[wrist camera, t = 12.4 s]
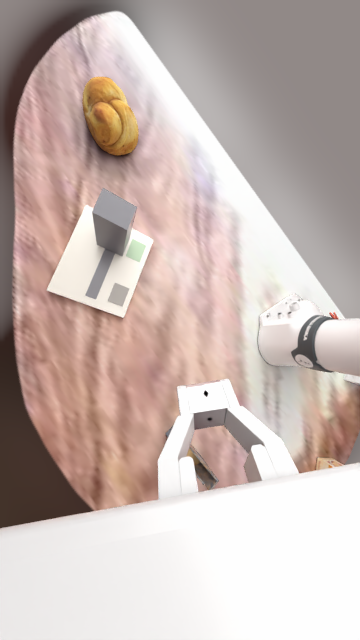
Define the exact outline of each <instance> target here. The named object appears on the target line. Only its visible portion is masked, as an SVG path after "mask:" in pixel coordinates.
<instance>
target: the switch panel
mask: <svg viewBox="0 0 360 640" xmlns="http://www.w3.org/2000/svg"><path fill="white" fill-rule="evenodd" d="M93 209H94V208H92V207H90V206H88V205H86V206H85V208H84V210H83V212H82V215H81V217H80V219H79V221H78V223H77V225H76V228H75V230H74V232H73V234H72V236H71V238H70V241H69V243H68V245H67V247H66V249H65V251H64V254H63V256H62V258H61V260H60V262H59V264H58V267H57V269H56V271H55V273H54V275H53V277H52V280H51V282H50V284H49V286H48V288H47V291H49V292H51V293H54V294H57V295H60V296H63V297H65V298H68V299H71V300H74V301H77V302H79V303H82V304H85V305H88V306H91V307H93V308H96V309H99V310H102V311H105V312H107V313H110V314H113V315H116V316H119V317H121V318H124V316H125V313H126V311H127V308H128V305H129V303H130V300H131V298H132V295H133V292H134V290H135V287H136V284H137V282H138V279H139V277H140V274H141V271H142V269H143V266H144V264H145V261H146V258H147V256H148V253H149V251H150V248H151V245H152V243H153V239H151V238H149V237H147V236H145V235H144V234H142V233H140V232H138V231H136V230H134V229H132V230H131V235H130V239H129V241H128V244H127V246H126V249H125V251H124V254H123V256H120V255H118V254H116V253H114V252H111V251H109V250H107V249H105V248H103V247H101V246H98V245H97V242H96V236H95V229H94V222H93V215H92V211H93Z"/></svg>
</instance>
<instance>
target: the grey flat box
mask: <svg viewBox="0 0 360 640" xmlns="http://www.w3.org/2000/svg"><path fill="white" fill-rule="evenodd" d="M172 428H173V426H172V427H171V428H170V429H169V431H168V432H167V433H166V435H167V437H169V435H170V432H171V430H172ZM189 456H190V457H191V458H192V459H193V461H194V468H195V474H196V476H197V478H198V479H199V480H200V481H201V482H202V484H203V485H204V484H205V485H206V487H207V489H208V490H212V489H213V488H214V487H215V485H216V484H217V483H218V479H217V478H216V476H215V475H214V474H213V472H212V471H211V469H210V468H209V467H208V465H207V464H206V462H205V461H204V460H203V458H202V457H201V456H200V455H199V453H198V452H197V451H196V450H195V449H194V447H193V446H192V445H191V444H190V447H189V450H188V453H187V456H186V457H189Z"/></svg>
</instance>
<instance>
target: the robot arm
mask: <svg viewBox="0 0 360 640" xmlns="http://www.w3.org/2000/svg"><path fill="white" fill-rule="evenodd" d="M329 314H330V316H331V317H332V318H330V317H326V316H324V315H323V313H322V312H321V310H320V309H319V307H318V306H317V305H316V304H315V303H313V302H311V301H303V299H302V298H301V297H299V296H298V295H296V294H291V295H289V296H288V297H286V298H285V299H283V300H282V301H280V302H279V303H277V304H276V305H274V306H273V307H271V308H270V309H268V310H267V311H265V312H264V313H262V314H261V315H260V317H259V322H260V330H259V335H258V346H259V350H260V353H261V355H262V357H263V358H264V360H265V361H266V362H267V363H269V364H271V365H273V366H301V367H306V368H310V369H313V370H318V371H323V372H339V373H344V374H349V375H354V376H359V377H360V318H356V319H338V317H337V315H336V314H335V312H334V315H335V316H334V315H333V314H332V313H331V312H330V313H329ZM177 393H178V401H179V409H180V416H177V419H176V421H175V423H174V425H173V428H172V430H171V432H170V435H169V437H168V439H167V441H166V444H165V446H164V448H163V450H162V453H161V455H160V457H159V459H158V489H159V499H158V500H153V501H147V502H142V503H136V504H131V505H125V506H120V507H114V508H109V509H103V510H98V511H93V512H87V513H82V514H76V515H71V516H65V517H60V518H54V519H50V520H43V521H38V522H33V523H27V524H22V525H16V526H11V527H5V528H0V640H360V463H355V464H349V465H343V466H338V467H332V468H327V469H322V470H316V471H311V472H305V473H300V474H299V472H298V470H297V468H296V466H295V464H294V462H293V460H292V458H291V456H290V454H289V452H288V450H287V448H286V446H285V444H284V443H283V441H282V439H281V438H279V437H278V436H277V435H276V434H275V433H274V432H272V431H271V430H270V429H269V428H268V427H267V426H265V425H264V424H263V423H262V422H261V421H260V420H258V419H257V418H256V417H255V416H254V415H253V414H251V413H250V412H249V411H248V410H247V409H246V408H244V407H243V406H240V405H239V403H238V400H237V398H236V395H235V393H234V390H233V388H232V385H231V383H230V380H229V379H223V380H216V381H210V382H204V383H198V384H191V385H183V386H177ZM221 425H224V426H225V427H226V429H227V430H228V431H229V432H230V433H231V434H232V435H233V437H234V438H235V439H236V440H237V441H238V442H239V443H240V445H241V446H242V447H243V448H244V449H245V450H246V451H247V453H248V454H249V455H248V457H247V460H246V462H245V464H244V470H245V473H246V476H247V479H248V482H249V483H245V484H240V485H234V486H229V487H223V488H218V489H213V490H207V491H202V492H198V486H197V480H196V474H195V468H194V461H193V459H192V458H191V457H190V456H189V457H186V456H187V453H188V450H189V447H190V444H191V440H192V437H193V434H194V430H197V429H202V428H207V427H214V426H221Z"/></svg>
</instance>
